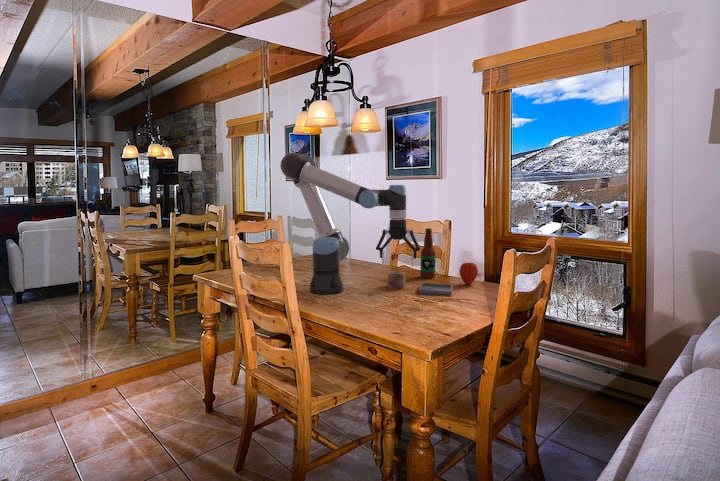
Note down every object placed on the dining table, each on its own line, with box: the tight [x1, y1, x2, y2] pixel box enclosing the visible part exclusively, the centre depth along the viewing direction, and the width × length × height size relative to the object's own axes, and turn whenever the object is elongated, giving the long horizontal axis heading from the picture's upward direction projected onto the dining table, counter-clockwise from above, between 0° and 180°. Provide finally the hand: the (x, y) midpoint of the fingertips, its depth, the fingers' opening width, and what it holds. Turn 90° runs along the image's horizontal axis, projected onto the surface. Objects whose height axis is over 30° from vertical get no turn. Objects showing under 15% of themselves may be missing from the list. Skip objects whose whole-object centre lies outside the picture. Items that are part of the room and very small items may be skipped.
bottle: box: [420, 227, 436, 280], centre depth 233 cm, size 7×7×25 cm
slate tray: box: [418, 282, 453, 297], centre depth 206 cm, size 14×14×2 cm
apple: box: [459, 262, 479, 285], centre depth 218 cm, size 9×8×11 cm
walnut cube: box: [387, 270, 407, 290], centre depth 213 cm, size 7×7×7 cm
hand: (398, 265), depth 212 cm, fingers open, 13 cm apart
